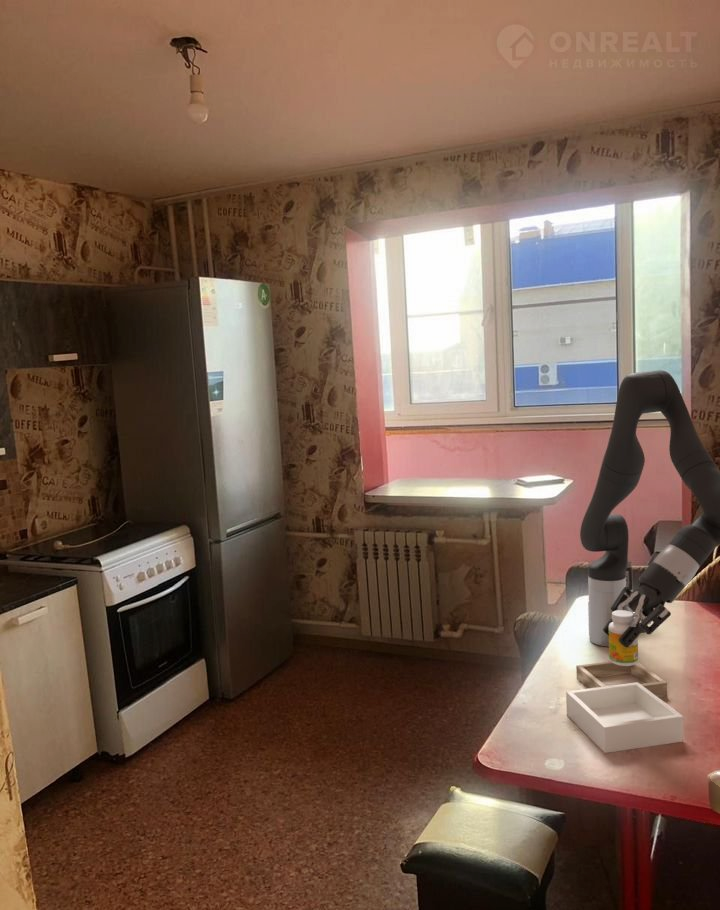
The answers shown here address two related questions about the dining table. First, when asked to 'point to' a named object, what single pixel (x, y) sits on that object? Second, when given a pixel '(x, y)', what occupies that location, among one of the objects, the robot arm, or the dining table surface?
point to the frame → (592, 671)
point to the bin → (624, 717)
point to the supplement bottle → (616, 629)
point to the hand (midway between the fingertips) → (614, 638)
